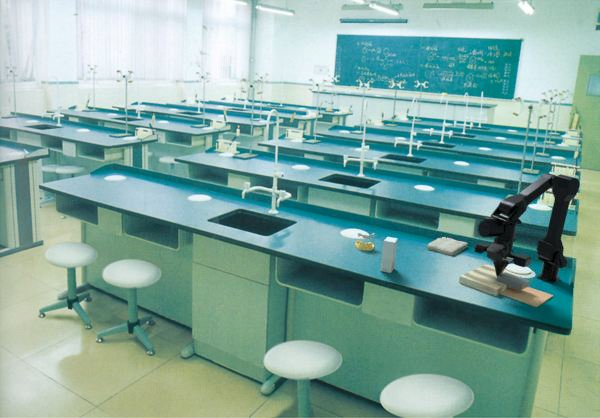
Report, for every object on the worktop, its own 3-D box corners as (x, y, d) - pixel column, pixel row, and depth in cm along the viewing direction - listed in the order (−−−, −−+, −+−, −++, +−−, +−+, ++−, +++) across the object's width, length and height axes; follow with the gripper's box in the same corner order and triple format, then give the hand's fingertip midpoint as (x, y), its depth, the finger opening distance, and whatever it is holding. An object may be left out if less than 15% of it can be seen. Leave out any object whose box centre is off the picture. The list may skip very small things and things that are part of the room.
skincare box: (391, 273, 184) (394, 242, 181) (379, 271, 185) (383, 240, 182) (394, 268, 189) (398, 238, 186) (383, 265, 191) (386, 236, 188)
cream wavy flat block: (485, 270, 193) (486, 264, 192) (520, 282, 183) (522, 276, 183) (458, 282, 180) (459, 276, 179) (495, 296, 170) (497, 289, 169)
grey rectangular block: (504, 277, 180) (505, 272, 180) (528, 286, 174) (530, 280, 173) (496, 280, 176) (497, 275, 176) (521, 290, 170) (522, 284, 169)
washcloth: (468, 247, 220) (469, 241, 219) (452, 257, 206) (453, 250, 205) (442, 241, 227) (443, 234, 226) (425, 250, 213) (426, 243, 212)
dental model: (373, 246, 213) (375, 231, 211) (374, 251, 206) (376, 236, 204) (355, 244, 214) (356, 229, 212) (355, 249, 207) (356, 234, 205)
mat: (517, 284, 181) (517, 283, 181) (552, 296, 173) (553, 295, 173) (499, 293, 172) (500, 292, 172) (536, 307, 163) (536, 306, 163)
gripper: (469, 232, 176) (463, 273, 180) (522, 247, 163) (513, 291, 167) (484, 227, 183) (478, 266, 187) (536, 241, 170) (527, 283, 175)
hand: (498, 276), depth 179 cm, fingers closed
